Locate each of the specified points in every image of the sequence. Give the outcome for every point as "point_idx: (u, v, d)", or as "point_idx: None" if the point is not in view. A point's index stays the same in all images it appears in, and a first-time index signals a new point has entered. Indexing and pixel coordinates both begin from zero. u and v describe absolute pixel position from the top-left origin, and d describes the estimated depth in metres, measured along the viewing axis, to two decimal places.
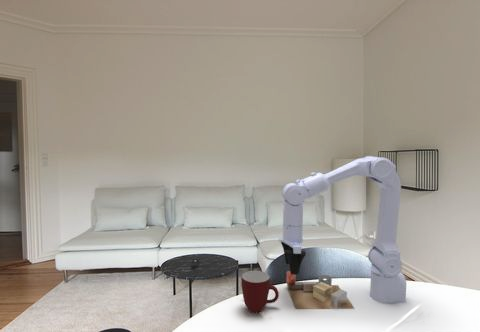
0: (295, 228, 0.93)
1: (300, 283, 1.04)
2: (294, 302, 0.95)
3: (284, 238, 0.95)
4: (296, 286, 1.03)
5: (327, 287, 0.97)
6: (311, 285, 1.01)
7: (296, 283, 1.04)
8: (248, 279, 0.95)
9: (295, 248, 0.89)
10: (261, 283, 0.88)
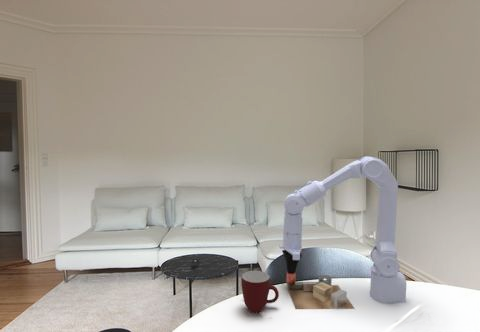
0: (295, 236, 1.00)
1: (300, 283, 1.04)
2: (294, 302, 0.95)
3: (284, 245, 1.01)
4: (296, 286, 1.03)
5: (327, 287, 0.97)
6: (311, 285, 1.01)
7: (296, 283, 1.04)
8: (248, 279, 0.95)
9: (294, 255, 0.95)
10: (261, 283, 0.88)
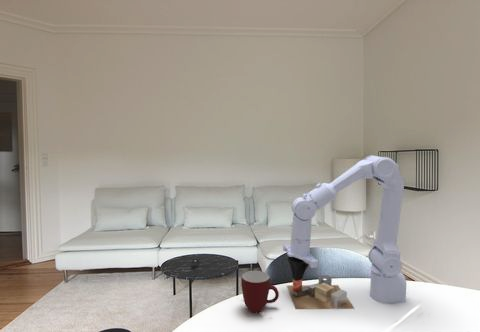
0: (307, 242, 0.95)
1: (305, 288, 1.00)
2: (294, 302, 0.95)
3: (294, 253, 0.96)
4: (303, 292, 0.99)
5: (328, 288, 0.97)
6: None
7: (302, 289, 1.00)
8: (248, 279, 0.95)
9: (313, 262, 0.91)
10: (261, 283, 0.88)
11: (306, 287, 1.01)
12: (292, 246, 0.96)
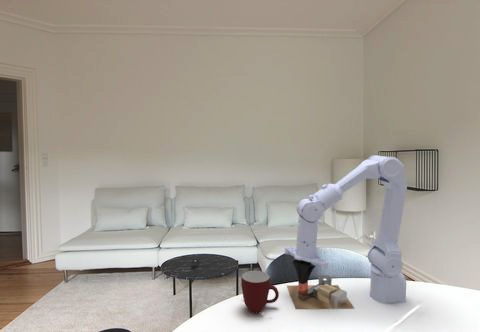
0: (314, 244, 0.93)
1: (309, 290, 0.99)
2: (294, 302, 0.95)
3: (302, 256, 0.93)
4: (308, 294, 0.97)
5: (331, 289, 0.96)
6: None
7: None
8: (248, 279, 0.95)
9: (324, 264, 0.90)
10: (261, 283, 0.88)
11: (310, 289, 1.00)
12: (299, 249, 0.94)
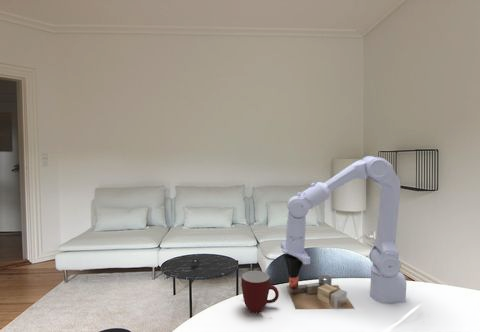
0: (301, 239, 0.97)
1: (302, 286, 1.02)
2: (294, 302, 0.95)
3: (289, 250, 0.98)
4: (299, 289, 1.01)
5: (331, 289, 0.96)
6: (315, 287, 1.00)
7: (298, 286, 1.01)
8: (248, 279, 0.95)
9: (305, 259, 0.93)
10: (261, 283, 0.88)
11: (304, 285, 1.02)
12: (287, 243, 0.99)
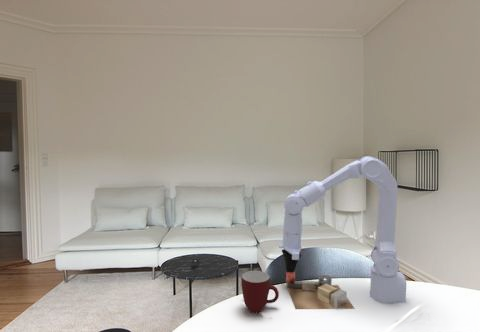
0: (294, 236, 1.01)
1: (300, 282, 1.05)
2: (294, 302, 0.95)
3: (284, 245, 1.03)
4: (295, 285, 1.04)
5: (331, 289, 0.96)
6: (310, 284, 1.02)
7: (296, 282, 1.05)
8: (248, 279, 0.95)
9: (294, 255, 0.97)
10: (261, 283, 0.88)
11: (302, 282, 1.05)
12: (283, 238, 1.03)
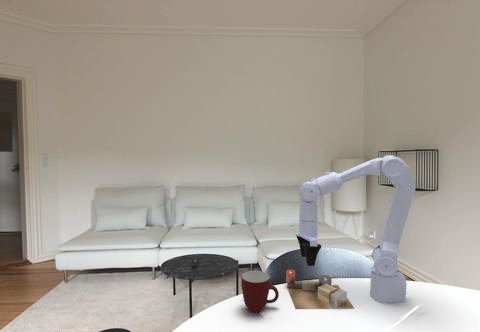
0: (311, 223, 1.01)
1: (300, 282, 1.05)
2: (294, 302, 0.95)
3: (300, 232, 1.03)
4: (295, 285, 1.04)
5: (331, 289, 0.96)
6: (310, 284, 1.02)
7: (296, 282, 1.05)
8: (248, 279, 0.95)
9: (312, 241, 0.97)
10: (261, 283, 0.88)
11: (302, 282, 1.05)
12: (299, 226, 1.04)
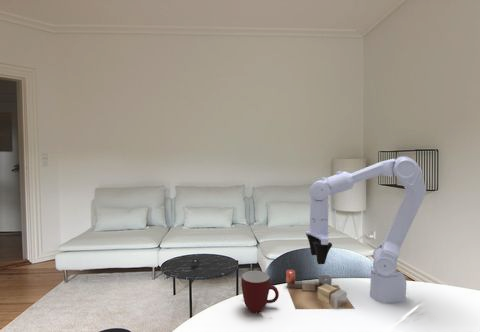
0: (322, 221, 1.01)
1: (300, 282, 1.05)
2: (294, 302, 0.95)
3: (311, 231, 1.03)
4: (295, 285, 1.04)
5: (331, 289, 0.96)
6: (310, 284, 1.02)
7: (296, 282, 1.05)
8: (248, 279, 0.95)
9: (323, 239, 0.97)
10: (261, 283, 0.88)
11: (302, 282, 1.05)
12: (310, 225, 1.04)
